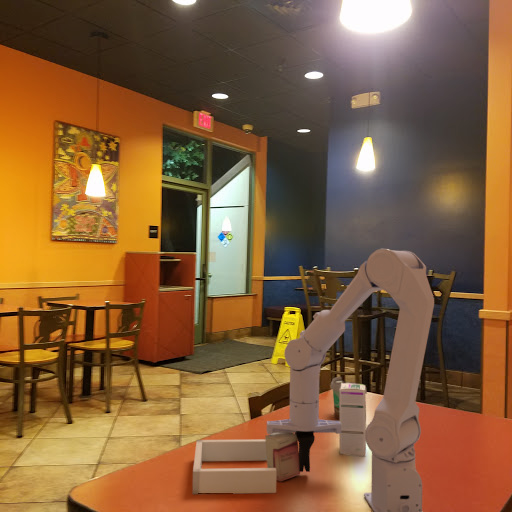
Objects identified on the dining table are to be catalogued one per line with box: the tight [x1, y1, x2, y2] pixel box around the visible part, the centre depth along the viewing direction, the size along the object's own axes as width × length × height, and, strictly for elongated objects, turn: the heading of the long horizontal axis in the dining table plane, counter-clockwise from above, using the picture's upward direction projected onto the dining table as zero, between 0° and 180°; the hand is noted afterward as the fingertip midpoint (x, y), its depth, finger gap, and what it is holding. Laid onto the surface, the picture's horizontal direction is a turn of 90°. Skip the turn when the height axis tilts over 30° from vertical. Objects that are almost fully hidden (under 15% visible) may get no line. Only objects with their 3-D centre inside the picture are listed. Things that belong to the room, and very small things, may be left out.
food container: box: [330, 376, 368, 421], centre depth 137 cm, size 12×6×10 cm, turn 25°
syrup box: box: [338, 382, 367, 457], centre depth 113 cm, size 6×6×14 cm
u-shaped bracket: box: [192, 438, 277, 495], centre depth 98 cm, size 16×15×4 cm
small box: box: [264, 433, 301, 482], centre depth 98 cm, size 5×4×8 cm
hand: (303, 469), depth 98 cm, fingers closed, pressing on small box
